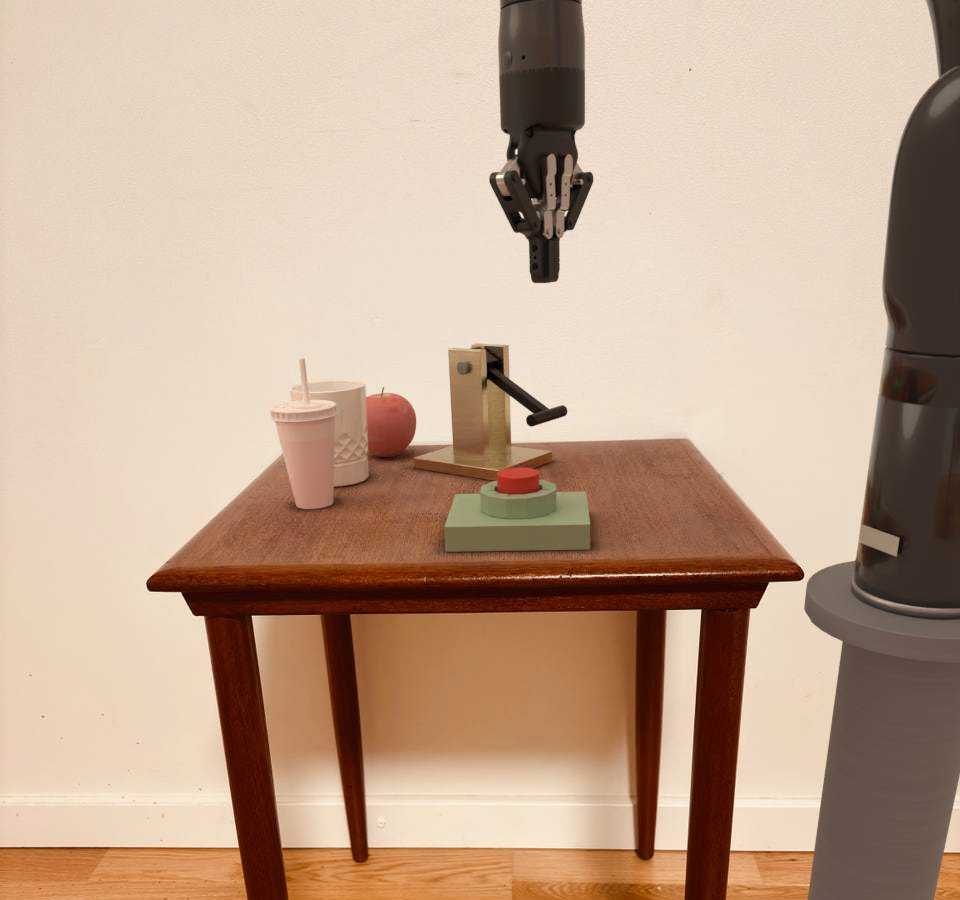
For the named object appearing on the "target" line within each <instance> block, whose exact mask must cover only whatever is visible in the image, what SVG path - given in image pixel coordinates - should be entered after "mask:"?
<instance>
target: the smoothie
mask: <svg viewBox="0 0 960 900" xmlns="http://www.w3.org/2000/svg"><path fill="white" fill-rule="evenodd" d="M298 364H299V372H300V380H301V384H302V391H303V399H304V400H300V401H292V400H291V401H286V402H281V403H277V404H275V405H271V407H270V408H269V412H270V419H271V420H272V421H274V424H275V428H276V432H277V436H278V440H279V444H280V447H281V451H282V457H283V460H284V463H285V467H286V471H287V475H288V478H289V483H290V487H291V491H292V495H293V499H294V503H295V506H296V508H299V509H301V510H316V509H318V510H319V509H323V508H327V507H329V506H332V505H333V504H334V495H335V494H334V493H335V492H334V491H335V490H334V489H335V487H334V434H335V416H336V415H337V414H338V412H337V406H336V403H335V402H333V401H328V400H309V391H308V375H307V366H306V365H307V364H306V358H302V357H301V358H298Z"/></svg>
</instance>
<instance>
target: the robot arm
mask: <svg viewBox="0 0 960 900" xmlns="http://www.w3.org/2000/svg"><path fill="white" fill-rule="evenodd" d="M925 4H926V5H927V8H928V9H927V10H928V14H929V18H930V22H931V23H930V24H931V27H932V33H933V39H934V47H935V56H936V65H937V76H938V78H937V79H936V80H935V81H934V82H933V83H932V84H931V85H930V86H929V87H928V89H926V91H925V92H924V93H923V94H922V96H921V97H920V98H919V100H918V101H917V102H916V105H915V106H914V107H913V109H912V111H911V113H910V114H909V116H908V118H907V121H906V123H905V124H904V127H903V130H902V133H901V136H900V140H899V143H898V147H897V151H896V155H895V160H894V166H893V170H892V179H891V187H890V195H889V203H888V204H889V205H888V215H887V224H886V236H885V246H884V258H883V269H882V279H881V281H882V282H881V292H882V293H881V294H882V295H881V296H882V303H883V306H884V312H885V314H886V315H885V316H886V321H887V322H886V323H887V324H886V325H887V327H886V336H885V347H884V351H883V358H882V365H881V372H880V379H879V386H878V387H879V388H878V394H877V402H876V408H875V416H874V424H873V432H872V437H871V438H872V440H871V447H870V453H869V461H868V468H867V474H866V475H867V476H866V482H865V491H864V496H863V504H862V512H861V518H860V519H861V520H860V526H859V534H858V542H857V550H856V557H855V559H854V561H855V566H854V570H855V571H854V574H853V576H852V582H851V591H852V593H853V594H854V596H855V597H857V598H858V599H859V600H861V601H862V602H864V603H866V604H868V605H870V606H872V607H875V608H878V609H880V610H883V611H887V612H891V613H894V614H899V615H904V616H909V617H916V618H925V619H960V0H925ZM497 37H498V38H497V45H498V46H497V51H498V52H497V54H498V55H497V56H498V57H497V59H498V85H499V87H498V89H499V114H500V116H499V117H500V120H499V121H500V129H501V131H502V133H504V134H506V135H509V139H508V145H507V148H506V163H505V165H504V166H503V167H502V168H501V169H500V171H493V172H491V173H490V174H489V177H488V182H489V185H490V187H491V189H492V191H493V193H494V195H495V197H496V199H497V201H498V204H499V205H500V207H501V209H502V211H503V213H504V215H505V217H506V219H507V221H508V224H509V225H510V227H511V229H512V231H513V232H514V233H516V234H522V235H523V236H524V238H525V239H526V240H527V241H528V259H529V261H528V262H529V274H530V279H531V282H532V283H533V284H550V283H556V282H558V280H559V276H560V270H561V264H560V263H561V261H560V260H561V259H560V256H561V255H560V253H561V251H560V249H561V248H560V242H561V240H560V239H562V238H563V237H564V233H566V232H567V231H573V230H574V229H575V227H576V225H577V222H578V220H579V218H580V215H581V213H582V210H583V208H584V205H585V203H586V201H587V198H588V196H589V193H590V191H591V188H592V186H593V184H594V174H593V172H591V171H586V172H585V171H583V169H582V168H581V167H580V165H579V164H578V160H579V150H578V148H577V143H576V133H577V132H578V131H581V129H583V128H584V126H585V125H586V32H585V24H584V16H583V0H499V27H498V36H497ZM565 213H566V214H565Z"/></svg>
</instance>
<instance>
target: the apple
mask: <svg viewBox="0 0 960 900" xmlns="http://www.w3.org/2000/svg"><path fill="white" fill-rule="evenodd" d="M384 390H385V386H383V387H382V389H381V393H375V394H374V393H373V394H370V395H368V396H366V403H367V424H368V453H369V454H371V455H372V456H375V457H377V458H390V457H391V458H394V457H396V456H398V455H399V454H400V455H401V453H403V452H404V451H405V450H406V449H407V448H408V447H409V446H410V445H411V443H412V441H413V440H414V438H415V435H416V429H417V415H416V411H415V409H414V406H413V404H411V402H410V401H409V400H408V399H407V398H406V397H404V396H402V395H400V394H397V393H394V392H384Z"/></svg>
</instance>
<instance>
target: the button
mask: <svg viewBox="0 0 960 900" xmlns="http://www.w3.org/2000/svg"><path fill="white" fill-rule="evenodd" d="M539 480H540V471H539V470H537V469H536V468H533V469H531V468H509V469H504V470H501V471H499V472H498V473H497V491H498V493H502V494H509V495H518V494H529V493H535V492H538V491H539Z"/></svg>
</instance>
